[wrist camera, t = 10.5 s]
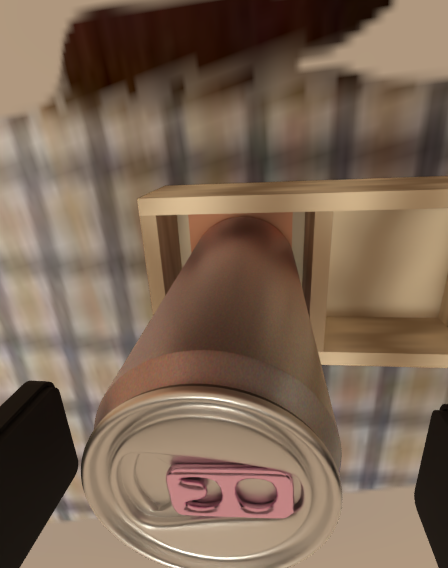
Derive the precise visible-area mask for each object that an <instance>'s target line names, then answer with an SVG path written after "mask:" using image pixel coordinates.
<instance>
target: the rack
mask: <svg viewBox="0 0 448 568" xmlns="http://www.w3.org/2000/svg"><path fill="white" fill-rule="evenodd" d="M137 202H138V209H139V216H140V224H141V231H142V238H143V246H144V253H145V260H146V268H147V275H148V282H149V289H150V297H151V304H152V311H153V315H154V314H155V312H156V311H157V309H158V307H159V306H160V304H161V302H162V301H163V299H164V297H165V296H166V294H167V293H168V291H169V289H170V288H171V286H172V284H173V283H174V281H175V280H176V278H177V276H178V275H179V273H180V271H181V270H182V268H183V266H184V265H185V263H186V262H187V260H188V258H189V257H190V255H191V253H192V252H193V250H194V248H195V247H196V245H197V244H198V242H199V240H200V239H201V237H202V236H203V235H204V234H205V233H206V232H207V231H208V230H209V229H210V228H211V227H212V226H214V225H215V224H217V223H219V222H221V221H224V220H226V219H230V218H234V217H252V218H256V219H260V220H263V221H265V222H267V223H269V224H271V225H272V226H274V227H275V228H277V229H278V230H279V231H280V232H281V233H282V234H283V235H284V236H285V238H286V239H287V241H288V242H289V244H290V246H291V248H292V251H293V255H294V258H295V262H296V266H297V270H298V274H299V278H300V282H301V286H302V290H303V294H304V298H305V302H306V306H307V310H308V314H309V318H310V322H311V326H312V330H313V334H314V338H315V342H316V346H317V350H318V354H319V358H320V362H321V365H354V366H393V367H431V368H448V176H431V177H403V178H374V179H345V180H316V181H287V182H258V183H229V184H200V185H172V186H163V187H161V188H159V189H157V190H155V191H153V192H151V193H148V194H146V195H144V196H142V197H140V198H138V199H137Z"/></svg>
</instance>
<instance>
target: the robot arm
mask: <svg viewBox="0 0 448 568" xmlns="http://www.w3.org/2000/svg"><path fill="white" fill-rule="evenodd" d="M77 469H78V458H77V455H76V451H75V447H74V444H73V440H72V436H71V432H70V429H69V425H68V421H67V418H66V414H65V410H64V407H63V403H62V399H61V395H60V392H59V390H58V389H57V388H55V386H54V384H53V383H52V382H46V381H27V382H26V383H24V384H23V385H22V386H21V387H20V388H19V389H18V390H17V391H16V392H15V393H14V394H13V395H12V396H11V397H10V398H9V399H7V400H6V401H5V402H4V403H3V404H2V405H1V406H0V568H19V567H20V566H21V564H22V563H23V561H24V559H25V558H26V556H27V555H28V553H29V551H30V550H31V548H32V546H33V545H34V543H35V541H36V539H37V538H38V536H39V535H40V533H41V531H42V530H43V528H44V526H45V525H46V523H47V521H48V520H49V518H50V516H51V515H52V513H53V512H54V510H55V508H56V507H57V505H58V503H59V502H60V500H61V498H62V497H63V495H64V493H65V492H66V490H67V488H68V487H69V485H70V483H71V482H72V480H73V478H74V477H75V475H76V472H77ZM414 494H415V495H414V497H415V504H416V508H417V511H418V514H419V517H420V519H421V522H422V524H423V527H424V530H425V532H426V535H427V538H428V540H429V543H430V546H431V548H432V551H433V553H434V556H435V559H436V561H437V564H438V567H439V568H448V404H443V405H442V406H441V407H440V410H434V411H433V413H432V416H431V420H430V425H429V429H428V434H427V438H426V443H425V447H424V451H423V456H422V460H421V465H420V469H419V474H418V478H417V483H416V487H415V493H414Z"/></svg>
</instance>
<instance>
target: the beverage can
mask: <svg viewBox="0 0 448 568" xmlns="http://www.w3.org/2000/svg"><path fill="white" fill-rule="evenodd" d="M341 457H342V452H341V442H340V437H339V433H338V429H337V425H336V421H335V417H334V413H333V409H332V405H331V401H330V397H329V393H328V389H327V386H326V382H325V378H324V374H323V370H322V366H321V362H320V358H319V354H318V350H317V346H316V342H315V338H314V334H313V330H312V326H311V322H310V318H309V314H308V310H307V306H306V302H305V298H304V294H303V290H302V286H301V282H300V278H299V274H298V270H297V266H296V262H295V258H294V255H293V251H292V248H291V246H290V244H289V242H288V241H287V239H286V238H285V236H284V235H283V234H282V233H281V232H280V231H279V230H278V229H277V228H275V227H274V226H272V225H271V224H269V223H267V222H265V221H263V220H260V219H256V218H252V217H234V218H230V219H226V220H224V221H221V222H219V223H217V224H215V225H214V226H212V227H211V228H210V229H209V230H208V231H207V232H206V233H205V234H204V235H203V236H202V237H201V239H200V240H199V242H198V244H197V245H196V247H195V248H194V250H193V252H192V253H191V255H190V257H189V258H188V260H187V262H186V263H185V265H184V266H183V268H182V270H181V271H180V273H179V275H178V276H177V278H176V280H175V281H174V283H173V284H172V286H171V288H170V289H169V291H168V293H167V294H166V296H165V297H164V299H163V301H162V302H161V304H160V306H159V307H158V309H157V311H156V312H155V314H154V315H153V317H152V319H151V320H150V322H149V324H148V325H147V327H146V328H145V330H144V332H143V333H142V335H141V337H140V338H139V340H138V342H137V343H136V345H135V346H134V348H133V350H132V351H131V353H130V355H129V356H128V358H127V359H126V361H125V363H124V364H123V366H122V368H121V369H120V371H119V373H118V374H117V376H116V377H115V379H114V381H113V382H112V384H111V386H110V387H109V389H108V390H107V392H106V394H105V395H104V397H103V399H102V401H101V403H100V405H99V408H98V410H97V414H96V418H95V424H94V431H93V432H92V434H91V436H90V438H89V440H88V442H87V444H86V447H85V449H84V453H83V457H82V462H81V479H82V485H83V490H84V493H85V496H86V498H87V501H88V503H89V505H90V507H91V509H92V510H93V512H94V513H95V515H96V516H97V518H98V519H99V520H100V522H101V523H102V524H103V525H104V526H105V527H106V528H107V529H108V530H109V532H111V533H112V534H113V535H114V536H115V537H116V538H117V539H118V540H120V541H121V542H122V543H124V544H125V545H126V546H128V547H129V548H131V549H132V550H134V551H135V552H137V553H139V554H140V555H142V556H144V557H146V558H148V559H150V560H152V561H154V562H157V563H159V564H161V565H164V566H167V567H169V568H288V567H291V566H293V565H296V564H297V563H299V562H301V561H303V560H305V559H306V558H308V557H309V556H311V555H312V554H314V553H315V552H316V551H317V550H318V549H319V548H321V546H323V544H324V543H325V542H326V541H327V540H328V539H329V537H330V536H331V534H332V533H333V531H334V529H335V527H336V525H337V523H338V520H339V517H340V513H341V509H342V487H341V480H340V476H339V472H340V466H341Z"/></svg>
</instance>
